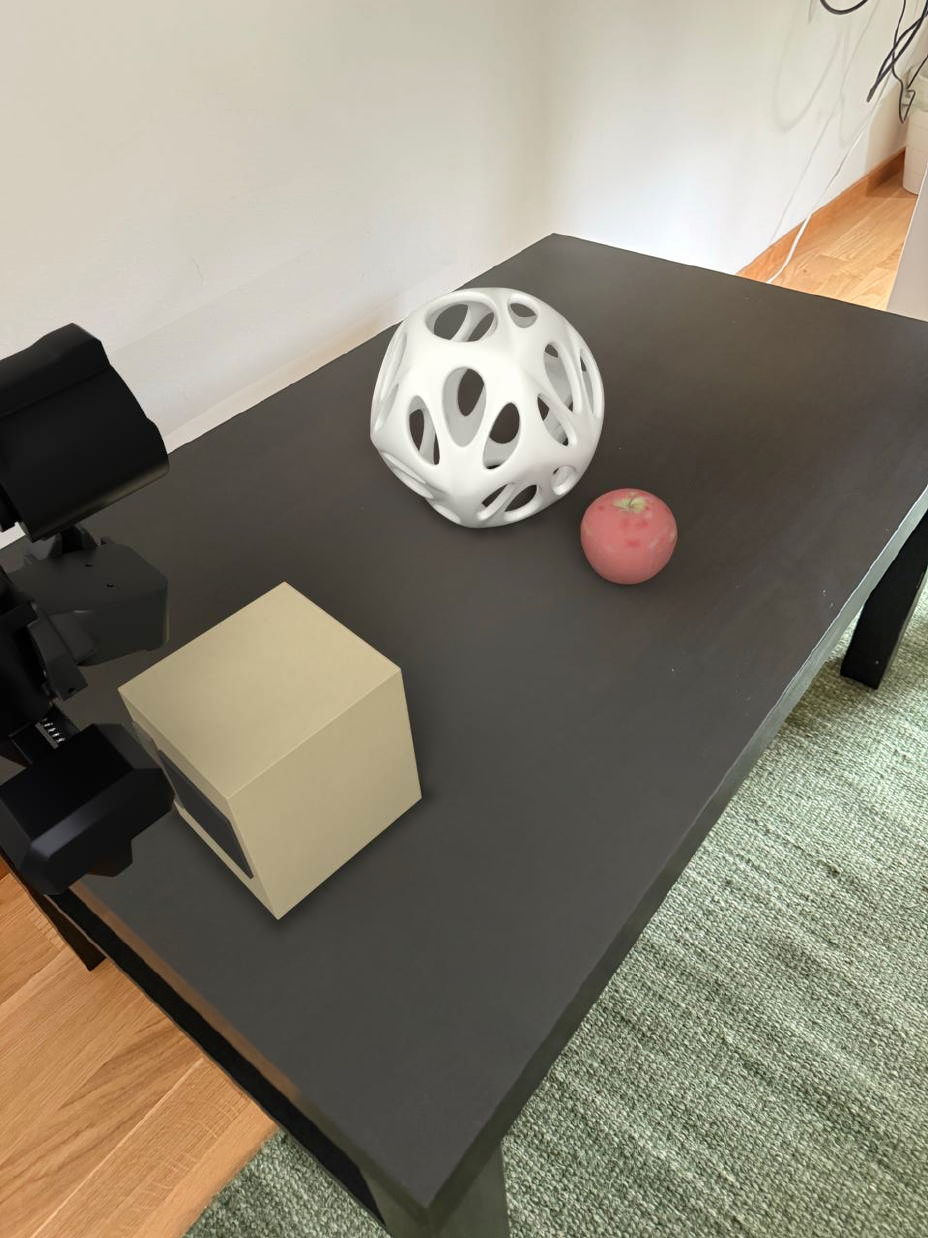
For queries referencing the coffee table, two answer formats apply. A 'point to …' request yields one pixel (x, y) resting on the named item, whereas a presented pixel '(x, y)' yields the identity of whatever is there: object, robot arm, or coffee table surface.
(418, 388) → the decorative ball
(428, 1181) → the coffee table surface
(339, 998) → the coffee table surface
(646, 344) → the coffee table surface
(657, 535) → the apple
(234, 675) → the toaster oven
